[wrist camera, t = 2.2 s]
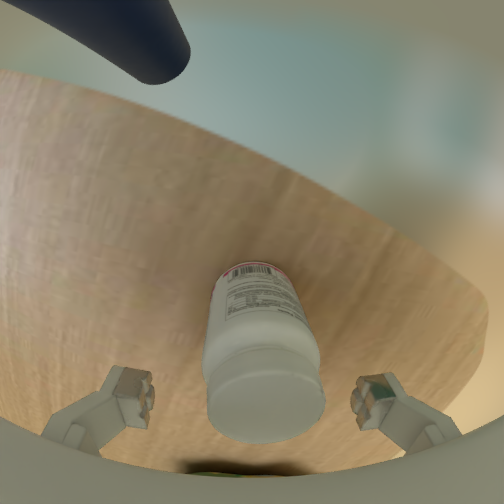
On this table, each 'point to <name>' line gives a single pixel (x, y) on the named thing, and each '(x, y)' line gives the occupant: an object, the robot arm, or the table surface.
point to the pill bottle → (260, 358)
